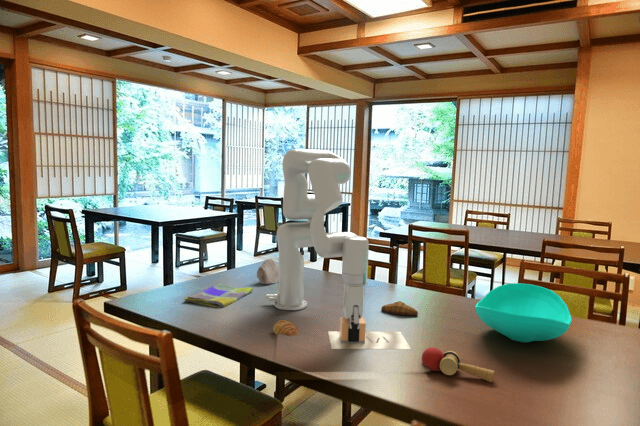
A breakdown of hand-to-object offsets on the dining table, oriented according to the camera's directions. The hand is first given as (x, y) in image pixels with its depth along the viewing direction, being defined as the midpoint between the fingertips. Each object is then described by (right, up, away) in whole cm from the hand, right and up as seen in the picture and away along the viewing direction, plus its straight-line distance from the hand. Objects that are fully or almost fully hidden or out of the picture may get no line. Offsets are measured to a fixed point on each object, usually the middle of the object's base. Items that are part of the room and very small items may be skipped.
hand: (352, 336), depth 129 cm
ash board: (+5, -3, +1) cm, 5 cm away
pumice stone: (-32, +5, +68) cm, 76 cm away
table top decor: (+55, -3, +10) cm, 56 cm away
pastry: (-20, -2, +7) cm, 21 cm away
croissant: (+19, 0, +30) cm, 35 cm away
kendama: (+26, -5, -16) cm, 31 cm away
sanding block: (0, -1, 0) cm, 1 cm away
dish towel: (-50, +3, +43) cm, 66 cm away
